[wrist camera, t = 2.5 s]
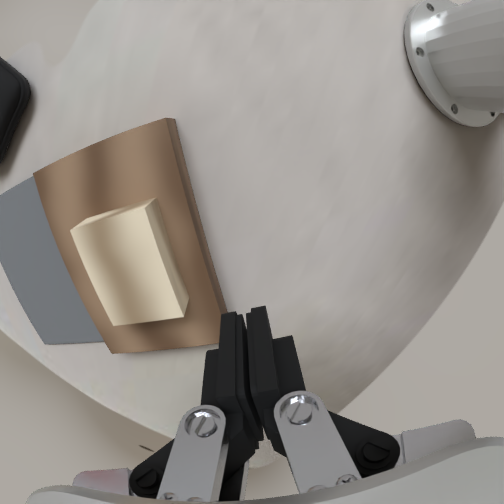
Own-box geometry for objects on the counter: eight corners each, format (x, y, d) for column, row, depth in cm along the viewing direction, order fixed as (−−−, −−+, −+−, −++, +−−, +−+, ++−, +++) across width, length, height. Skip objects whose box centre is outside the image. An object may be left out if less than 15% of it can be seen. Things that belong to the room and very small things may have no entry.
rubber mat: (49, 167, 19) (47, 168, 19) (119, 337, 27) (118, 340, 26) (-17, 206, 20) (-20, 207, 20) (46, 342, 27) (44, 344, 27)
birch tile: (156, 197, 18) (144, 207, 16) (189, 297, 22) (183, 316, 19) (86, 218, 19) (70, 230, 16) (123, 307, 22) (113, 326, 20)
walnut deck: (174, 118, 19) (165, 117, 16) (231, 323, 26) (230, 341, 24) (49, 167, 19) (33, 173, 17) (119, 337, 27) (111, 353, 24)
